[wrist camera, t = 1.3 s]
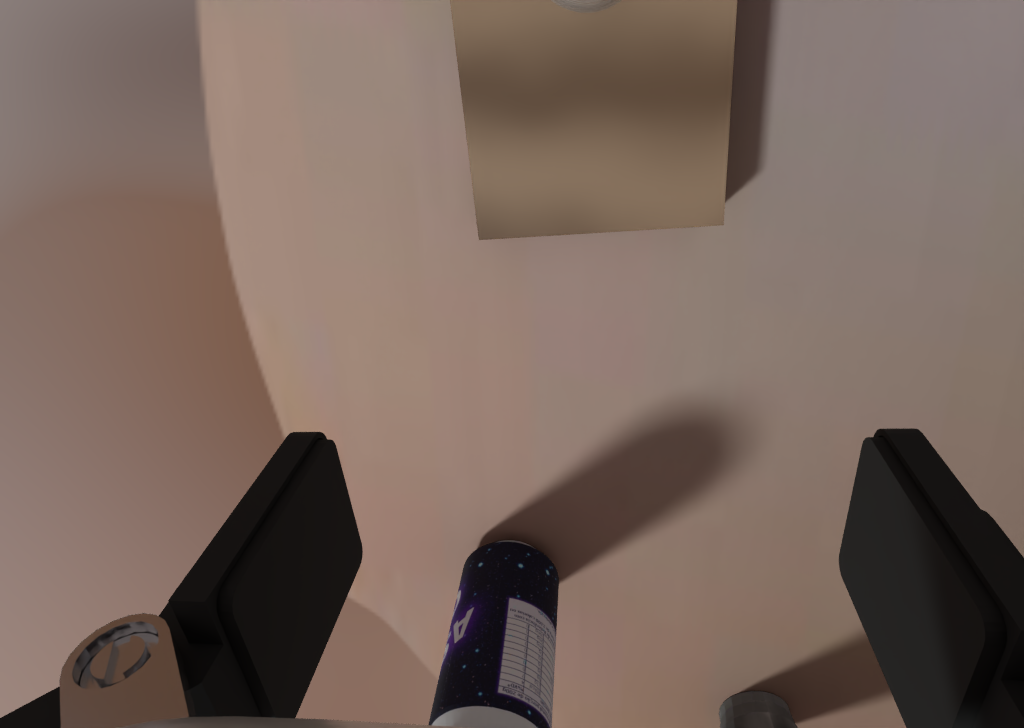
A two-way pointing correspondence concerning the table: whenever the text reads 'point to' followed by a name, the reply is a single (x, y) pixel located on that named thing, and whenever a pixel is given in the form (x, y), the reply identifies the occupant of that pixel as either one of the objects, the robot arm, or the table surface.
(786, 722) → the beverage cup
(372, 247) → the table surface
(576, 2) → the steel ball
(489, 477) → the table surface
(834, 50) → the table surface
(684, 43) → the slotted wooden board
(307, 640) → the robot arm
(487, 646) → the beverage can
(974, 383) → the table surface
